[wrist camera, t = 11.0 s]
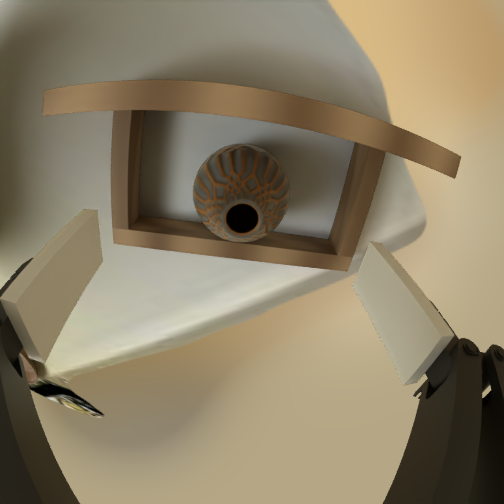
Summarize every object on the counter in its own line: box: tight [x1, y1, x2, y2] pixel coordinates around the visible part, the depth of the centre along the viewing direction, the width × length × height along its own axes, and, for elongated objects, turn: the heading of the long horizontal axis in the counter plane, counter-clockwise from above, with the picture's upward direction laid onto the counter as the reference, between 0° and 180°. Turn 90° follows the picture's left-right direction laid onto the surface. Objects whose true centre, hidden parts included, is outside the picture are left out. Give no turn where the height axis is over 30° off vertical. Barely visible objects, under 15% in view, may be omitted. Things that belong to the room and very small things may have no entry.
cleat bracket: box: [42, 80, 461, 271], centre depth 18 cm, size 24×13×10 cm, turn 81°
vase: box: [193, 144, 290, 242], centre depth 19 cm, size 7×7×9 cm
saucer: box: [20, 348, 38, 384], centre depth 34 cm, size 15×15×3 cm
